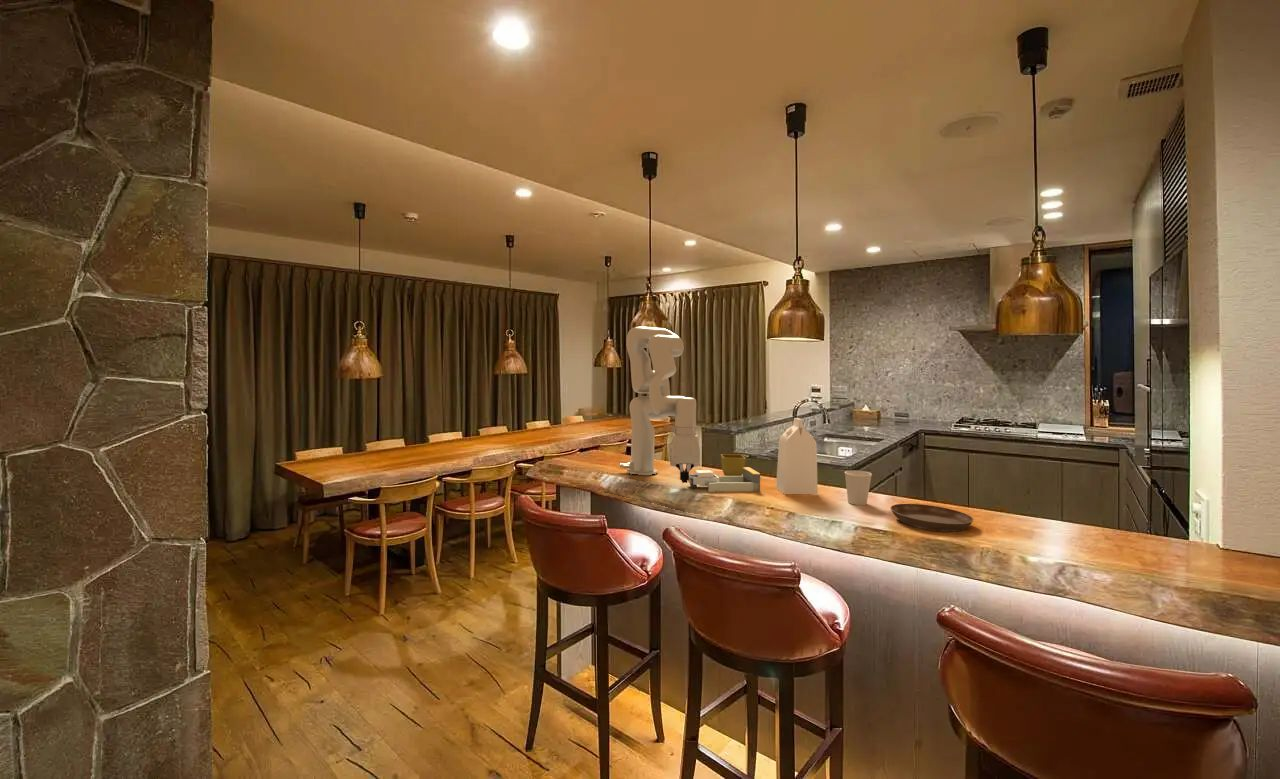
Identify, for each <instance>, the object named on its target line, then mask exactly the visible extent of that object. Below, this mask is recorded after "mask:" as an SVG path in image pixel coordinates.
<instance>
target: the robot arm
mask: <svg viewBox="0 0 1280 779" xmlns="http://www.w3.org/2000/svg"><path fill="white" fill-rule="evenodd" d="M625 343H626V345H625V346H626V349H627V354H628V357H629V361H630V373H631V374H630V375H631V376H630V377H631V387H632V390H633V392H635V393H638V394H648V395H647V396H646V395H645V396H643V395H642V396H641V395H640V396H637V397H633V398H632V399H631V401H630V403H629V414H630V421H631V440H630V442H631V443H630V444H631V445H630V447H631V448H630V451H631V452H630V454H631V455H630V460H629V462H627V463H623V462H620V463H619V468H620V469H627V470H626V472H628V473H627V474H629V473H630V474H629V475H632V474H638V475H637V476H653V475H652V474H655V475H657V474H658V469H656V468H655V436H656V435H655V433H656V432H655V428H654V426H653V424H652V422H651V420H664V419H667V418H668V417H674V418H675V419H674V420H675V421H674V427H673V428H672V427H671V428H670V432H671V433H674V434H673V435H672V439H671V447H670V462H669V466H671V467H675V468H677V469H678V470H679V479H680V481H681V483H682V484H684V483H686V484H688V480H689V475H690V471H691V470H693V469H694V468H695V467H699V466H700V465H701V464H700V459H701V454H700V453H701V452H700V451H701V449H700V441H699V436H698V434H697V431H696V430H697V399H696V398H694V397H688V396H687V397H686V396H683V395H671V390H670V387H671V385H670V380H669V378H671V377H673V376H674V374H676V373H677V365H676V362H675V360H674V358H678V357H680V356H682V355H683V353H684V349H685V348H684V341H683V340H682V338H681V337H680V336H679V335H677V334H676V333H675V332H672V331H671V330H668V329H666V328H663V327H651V326H636V327H635V326H634V327H631V329H630V330H628V333H627V335H626V342H625ZM645 349H648V352H649V354H648V352H647V351H646V350H645ZM652 368H653V369H652ZM684 464H685V469H684ZM656 473H657V474H656Z"/></svg>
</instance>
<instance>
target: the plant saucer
mask: <svg viewBox="0 0 1280 779" xmlns="http://www.w3.org/2000/svg"><path fill="white" fill-rule="evenodd" d="M890 511H891V512H892V514H893V515H894V517H895V518H897V520H898V521H900V522H901V523H904V524H905V525H908V526H910V525H911V527H914V528H918V529H923V530H928V529H929V531H935V530H936V532H937V531H938V532H959V530H960V531H963V530H965V529H966V528H968V527H969V526H970V525H971V524H972V523H973V522H974V517H972V516H971V515H970V514H967V513H965V512H962V511H959V510H956V509H951V508H948V507H941V506H936V505H931V504H921V503H898V504H894V505H891V506H890Z"/></svg>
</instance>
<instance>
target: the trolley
mask: <svg viewBox="0 0 1280 779" xmlns="http://www.w3.org/2000/svg"><path fill="white" fill-rule="evenodd" d="M694 471H695V473H689V480H687V483H689V485H690V486H691V488H692V489H693V490H696V489H697V488H698V485H699V486H701V485H703V486H705V485H706V486H708V485H709V483H717V482H719V477H718V476H719V475H716V473H714V472H713V471H712V470H710V469H701V470H699V469H695V470H694Z"/></svg>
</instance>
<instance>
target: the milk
mask: <svg viewBox="0 0 1280 779" xmlns="http://www.w3.org/2000/svg"><path fill="white" fill-rule="evenodd" d="M817 444H818V443H817V441H816V440H815V438H814V437H813V436H812V435H811V434H810V433H809V432H808V431H807V430H806V429H805V428H804V424H803V419H802V418H799V417H794V418H793V422H792V425H791V426H790V427H788V428H786V430H785V431H784V432H783V434H781V435H780V437H779V439H778V452H777V453H778V454H777V467H776V480H775V481H776V484H775V488H776V487H777V488H778V490H779V492H781V491H782V492H783V493H784V494H815V495H814V496H818V491H819V490H818V454H817V453H818V451H817V450H818V447H817V446H818V445H817ZM777 488H776V489H777ZM782 492H781V493H782ZM783 493H782V494H783ZM784 494H783V495H784Z"/></svg>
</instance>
